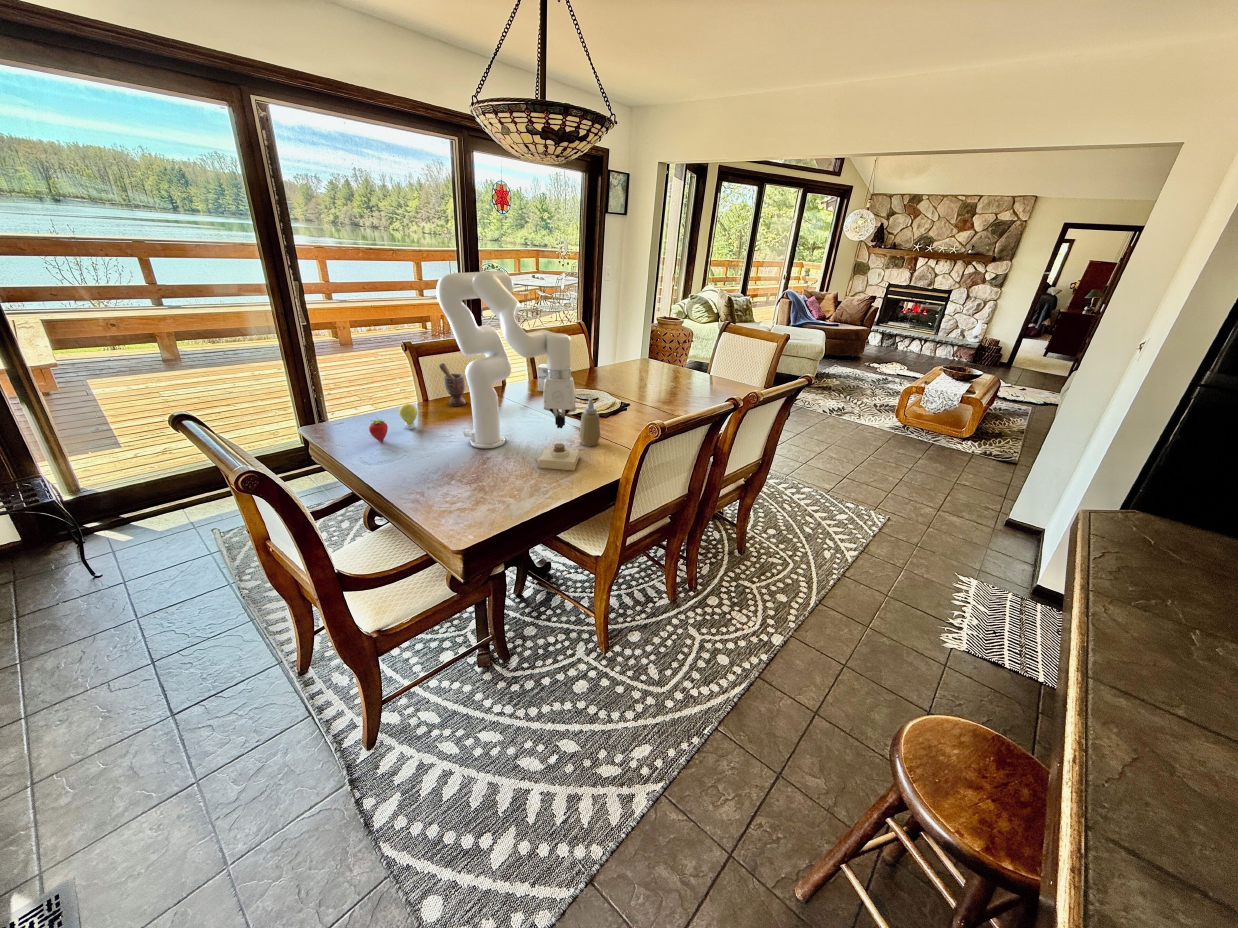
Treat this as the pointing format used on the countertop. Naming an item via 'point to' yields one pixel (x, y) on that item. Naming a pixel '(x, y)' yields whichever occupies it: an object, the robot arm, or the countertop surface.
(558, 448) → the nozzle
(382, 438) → the strawberry
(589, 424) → the squeeze bottle
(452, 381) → the mortar and pestle
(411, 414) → the light bulb
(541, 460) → the beige push button box
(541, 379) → the white packaging box
